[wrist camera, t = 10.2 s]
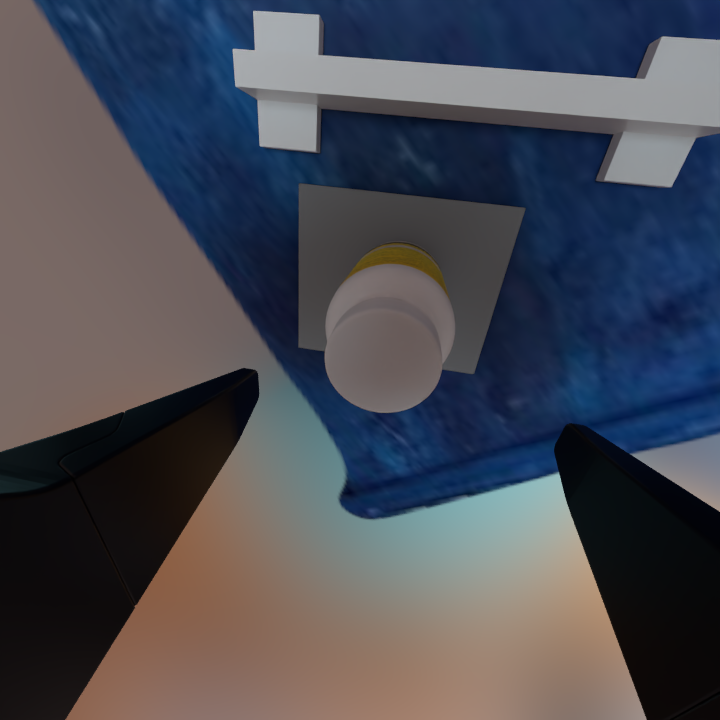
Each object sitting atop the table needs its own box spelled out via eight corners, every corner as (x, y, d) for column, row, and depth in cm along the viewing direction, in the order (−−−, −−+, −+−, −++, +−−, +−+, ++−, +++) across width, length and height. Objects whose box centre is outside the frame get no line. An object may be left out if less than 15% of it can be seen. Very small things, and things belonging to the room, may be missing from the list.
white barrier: (725, 49, 13) (805, 13, 10) (659, 187, 15) (710, 186, 13) (260, 19, 15) (227, -19, 12) (265, 148, 17) (239, 140, 14)
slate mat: (522, 207, 17) (525, 207, 16) (472, 370, 21) (473, 374, 21) (301, 183, 18) (298, 183, 17) (300, 344, 22) (298, 347, 22)
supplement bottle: (342, 251, 19) (281, 302, 10) (436, 229, 17) (459, 266, 9) (363, 335, 21) (328, 435, 12) (447, 321, 20) (475, 421, 11)
